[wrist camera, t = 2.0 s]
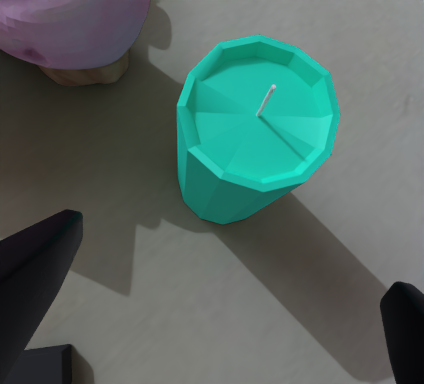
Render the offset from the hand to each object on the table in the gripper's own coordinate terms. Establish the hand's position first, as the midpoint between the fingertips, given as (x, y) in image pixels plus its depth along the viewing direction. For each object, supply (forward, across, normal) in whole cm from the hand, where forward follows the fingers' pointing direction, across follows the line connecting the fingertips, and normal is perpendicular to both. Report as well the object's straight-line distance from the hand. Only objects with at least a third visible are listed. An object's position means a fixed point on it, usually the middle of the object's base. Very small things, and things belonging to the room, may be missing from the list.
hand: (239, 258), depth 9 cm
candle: (+12, 0, +5) cm, 13 cm away
